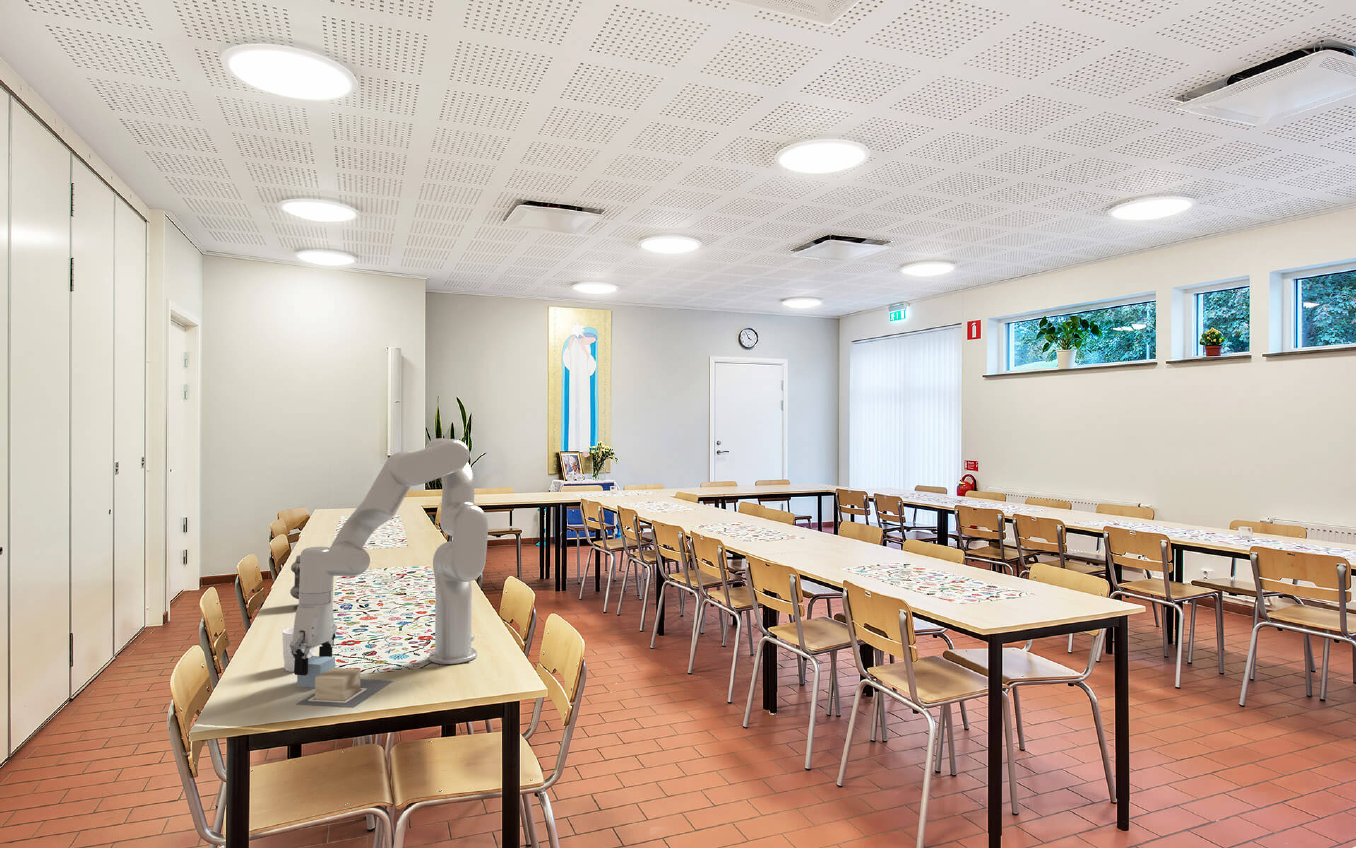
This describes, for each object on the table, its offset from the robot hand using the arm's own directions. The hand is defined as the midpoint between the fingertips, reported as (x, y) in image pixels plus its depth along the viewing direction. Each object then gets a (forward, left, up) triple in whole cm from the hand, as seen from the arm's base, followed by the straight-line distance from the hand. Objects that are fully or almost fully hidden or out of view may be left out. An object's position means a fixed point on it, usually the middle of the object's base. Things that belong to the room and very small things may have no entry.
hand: (313, 668), depth 184 cm
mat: (+5, +11, -4) cm, 13 cm away
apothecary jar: (-74, -50, -4) cm, 89 cm away
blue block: (-1, 0, -4) cm, 4 cm away
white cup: (-11, -12, -4) cm, 17 cm away
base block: (+6, +10, -4) cm, 13 cm away
